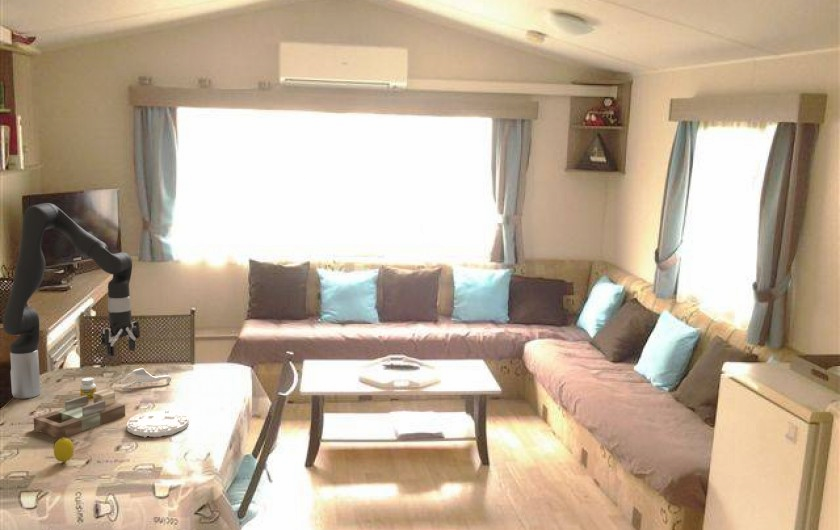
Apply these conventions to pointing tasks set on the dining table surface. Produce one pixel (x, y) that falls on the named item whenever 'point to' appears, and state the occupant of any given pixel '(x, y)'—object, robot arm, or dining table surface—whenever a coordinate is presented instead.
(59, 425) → the walnut deck
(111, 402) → the maple block
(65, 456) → the lemon
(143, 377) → the llama figurine
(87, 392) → the supplement bottle
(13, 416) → the dining table surface
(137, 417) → the white flat round disc
